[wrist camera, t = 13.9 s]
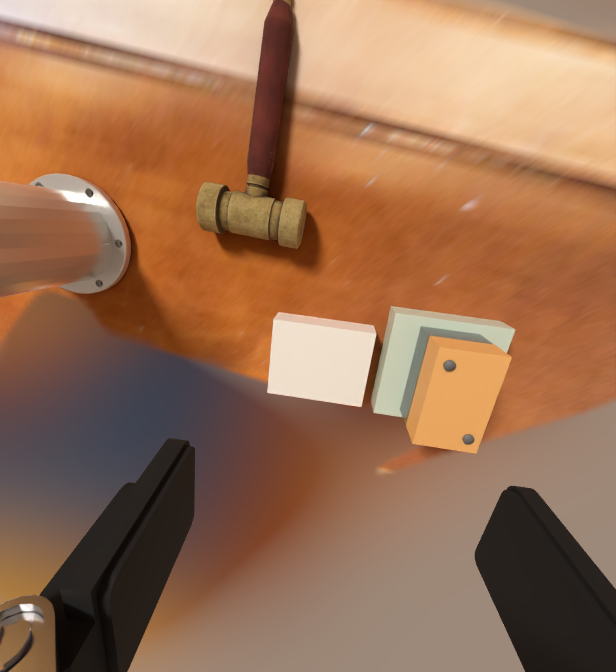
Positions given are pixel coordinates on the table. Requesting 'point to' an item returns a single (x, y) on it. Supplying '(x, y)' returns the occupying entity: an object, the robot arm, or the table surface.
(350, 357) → the stand
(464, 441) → the housing cover
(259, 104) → the gavel
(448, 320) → the stand
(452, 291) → the table surface
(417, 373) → the housing base
